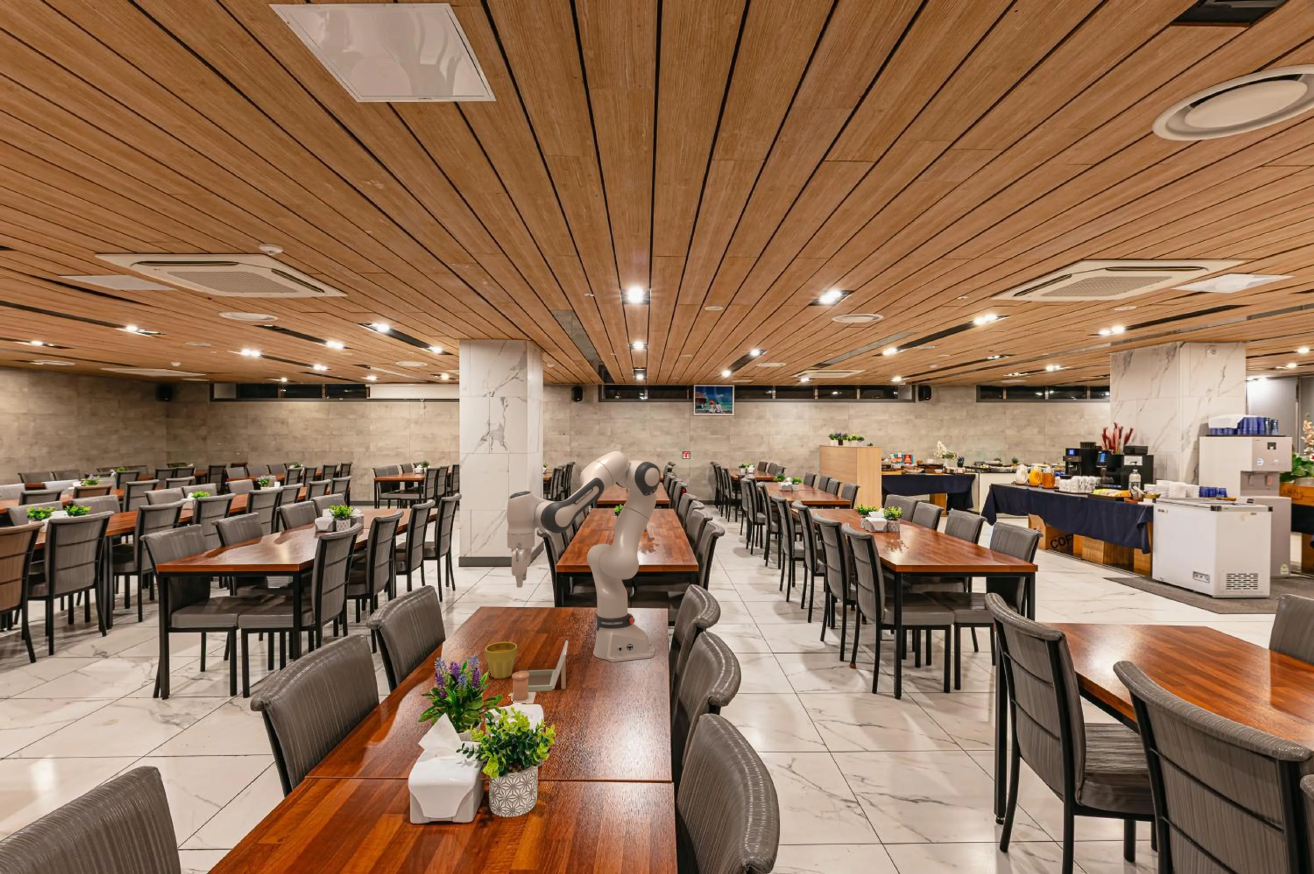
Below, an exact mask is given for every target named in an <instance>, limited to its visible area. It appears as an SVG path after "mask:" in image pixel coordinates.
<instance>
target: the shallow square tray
mask: <svg viewBox="0 0 1314 874" xmlns="http://www.w3.org/2000/svg"><path fill="white" fill-rule="evenodd" d="M555 670H556V668H554V669H530V670H529V669H527V670H525V671H526V672H529V677H528V692H547V691H549V692H550V691H553V689H552V685H553V680H554V675H555Z"/></svg>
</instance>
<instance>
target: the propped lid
mask: <svg viewBox="0 0 1314 874" xmlns="http://www.w3.org/2000/svg"><path fill="white" fill-rule="evenodd" d="M568 645H569V640H565V642H564V645H563V648H562V650H561V654H560V656H559V659H558V661H557V663H556V667H555V669H556V670H555V675H554V680H553V685H552V690H555V687H556V684H557V681H558V679H559V676H560V674H561V690H566V688H567V687H566V678H567V677H566V674H567V673H566V667H567V666H566V663H567V662H566V656H567V650H568V647H569V646H568Z"/></svg>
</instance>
